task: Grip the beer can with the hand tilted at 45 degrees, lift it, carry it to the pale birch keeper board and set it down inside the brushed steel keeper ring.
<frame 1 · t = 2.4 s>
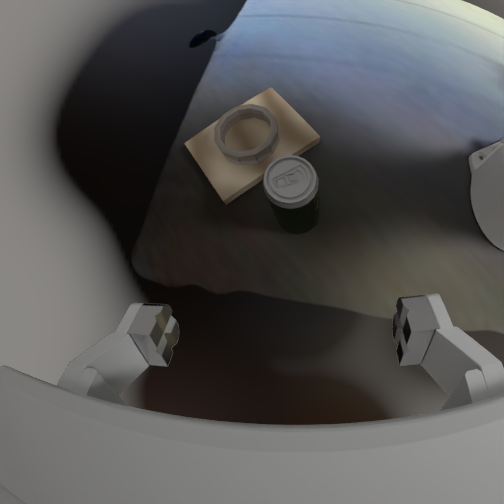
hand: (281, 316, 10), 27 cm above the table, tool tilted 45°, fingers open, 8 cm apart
keeper board: (251, 143, 42), on the table
beer can: (298, 215, 39), on the table
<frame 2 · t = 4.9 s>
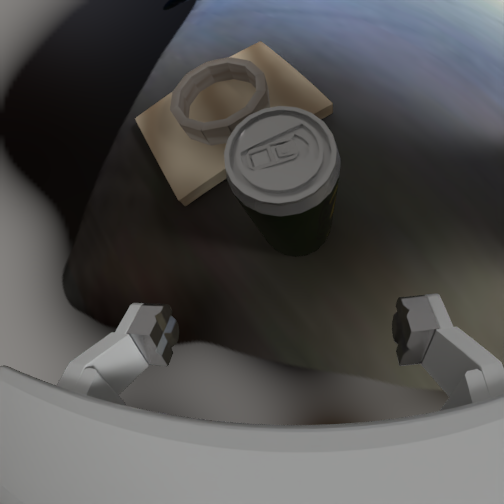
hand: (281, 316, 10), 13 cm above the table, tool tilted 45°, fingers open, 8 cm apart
keeper board: (228, 114, 27), on the table
beer can: (297, 225, 24), on the table
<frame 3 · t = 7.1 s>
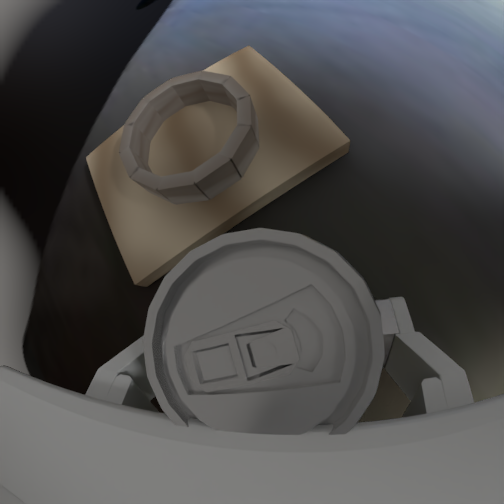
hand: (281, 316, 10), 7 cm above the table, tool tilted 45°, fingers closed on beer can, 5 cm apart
keeper board: (202, 153, 20), on the table
beer can: (294, 323, 17), on the table, touching gripper
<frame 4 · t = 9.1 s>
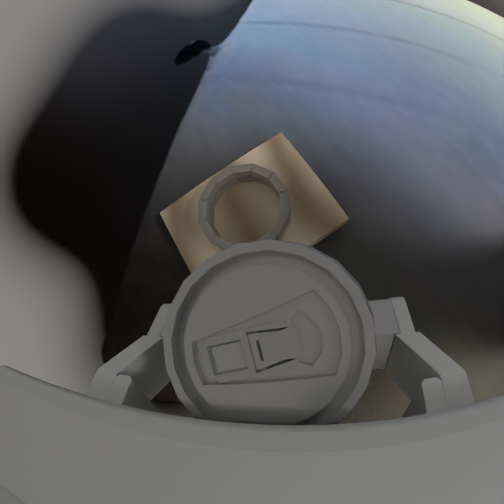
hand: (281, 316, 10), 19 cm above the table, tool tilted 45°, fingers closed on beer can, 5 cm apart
keeper board: (250, 218, 32), on the table
beer can: (295, 324, 18), point 11 cm above the table, touching gripper
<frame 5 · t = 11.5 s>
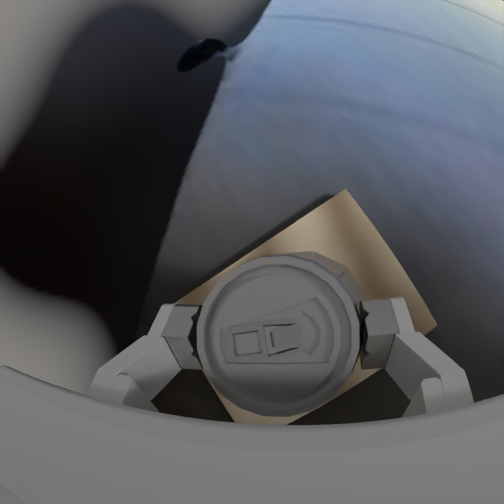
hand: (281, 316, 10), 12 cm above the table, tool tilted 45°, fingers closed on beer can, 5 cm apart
keeper board: (301, 320, 21), on the table
beer can: (298, 321, 20), point 1 cm above the table, touching gripper, keeper board
when the fingers open (10 cm above the table, at t = 12.4 s): beer can stays where it is, resting on keeper board.
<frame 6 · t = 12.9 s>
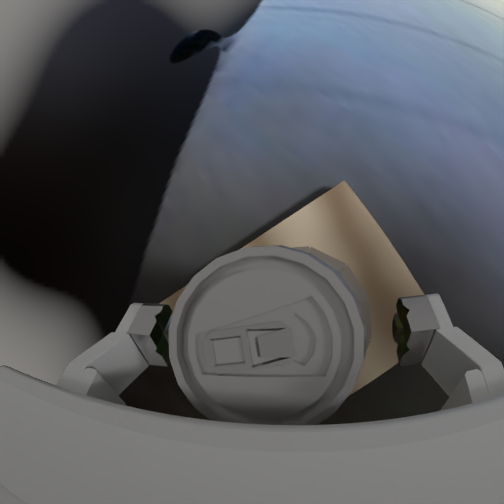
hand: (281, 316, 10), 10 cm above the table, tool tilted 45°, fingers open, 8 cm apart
keeper board: (297, 321, 20), on the table
beer can: (293, 323, 19), point 1 cm above the table, touching keeper board
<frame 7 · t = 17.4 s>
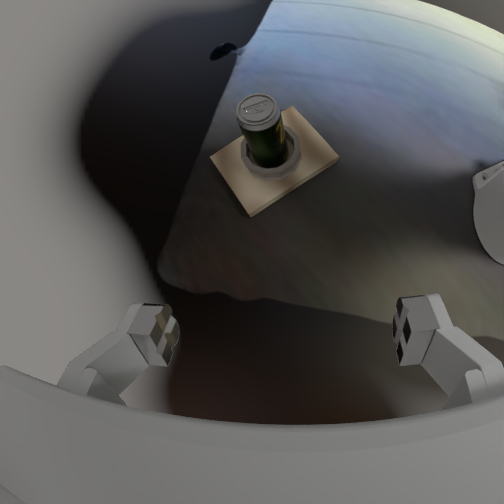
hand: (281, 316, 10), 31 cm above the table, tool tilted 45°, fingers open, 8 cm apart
keeper board: (273, 159, 45), on the table
beer can: (271, 155, 44), point 1 cm above the table, touching keeper board
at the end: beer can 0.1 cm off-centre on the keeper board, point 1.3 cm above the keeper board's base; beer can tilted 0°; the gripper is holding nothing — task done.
